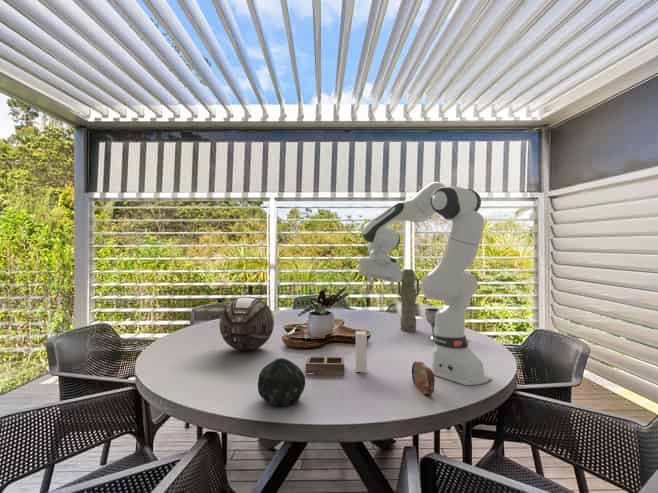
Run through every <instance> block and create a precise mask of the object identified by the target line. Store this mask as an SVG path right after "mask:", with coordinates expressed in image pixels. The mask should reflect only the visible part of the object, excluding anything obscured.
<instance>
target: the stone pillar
mask: <svg viewBox="0 0 658 493" xmlns="http://www.w3.org/2000/svg"><path fill="white" fill-rule="evenodd" d="M401 273H402V279H401V281H400V282H398V283H397V295H398V296H400V301H401V308H400V310H401V312H400V313H401V315H400V331H402V332H409V333H410V332H411V333H412V332H413V333H414V332H416V331H417V318H416V301H417V296H419V295H420V294H419V293H420V281H419V280H420V279H419V278H418V277H416V275H415V274H416V273H415V270H413V269H410V268H409V269H403V270H402V271H401ZM415 284H416V285H415Z"/></svg>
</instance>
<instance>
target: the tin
mask: <svg viewBox="0 0 658 493" xmlns="http://www.w3.org/2000/svg"><path fill="white" fill-rule="evenodd" d="M411 379H412V380H411V381H412V384H413V385H414V387H416V388H417V390H419V391H420V393H421V392H422V393H423V395H431V394H433V393H434V391H435V381H436V378H435V375H434V374H433V371H432V370H431V367H429V366H428V365H426V364H425V363H424V362H422V361H414V362H413V363H412V367H411ZM422 393H421V394H422Z"/></svg>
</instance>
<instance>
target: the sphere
mask: <svg viewBox="0 0 658 493" xmlns="http://www.w3.org/2000/svg"><path fill="white" fill-rule="evenodd" d="M274 319H275V318H274V315H273V312H272V309H271V308H270V306H269V305H268V304H267V303H266V302H264V301H263V300H262V299H260V298H257V297H255V296H241V297H238V298H236V299H234V300H231V302H230V303H228V305H227V306H225V307H224V309H223V311H222V313H221V315H220V318H219V332H220V335H221V338H222V339H223V341H225V343H226V344H227V345H228V346H229V347H231V348H233V349H235V350H237V351H243V352H248V351H254V350H256V349H258V348H259V349H260V347H262V346H264V344H265V345H266V343H267V342H268V341H269V339H270V338H271V336H272V334H273V332H274V328H275V327H274V326H275V320H274Z"/></svg>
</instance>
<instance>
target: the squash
mask: <svg viewBox="0 0 658 493" xmlns="http://www.w3.org/2000/svg"><path fill="white" fill-rule="evenodd" d="M259 372H260V373H259V375H258V381H257V391H258V394H259V396H260V397H261V398H262V399H263V401H265V402H267V403H270V404H271V406H272V407H278V406H280V405H281V406H282V407H285V406H287V405H289V404H294V402H295V403H297V402H298V401H299V399H300V397H301V395H302V394H303V392H304V391H305V387H306V377H305V375H304V372H303V371H302V369H301V368H300V367H299V365H297V364H296V363H294V362H292V361H290V360H288V359H286V358H282V357H279V358H276V359H274V360H272V361H271V362H269V363H267V364H266V365H265V366H264V367H262V369H261V371H259ZM289 402H290V403H289Z"/></svg>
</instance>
